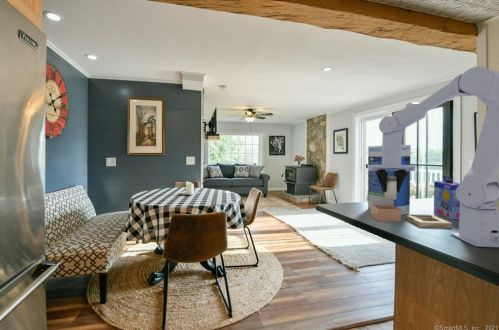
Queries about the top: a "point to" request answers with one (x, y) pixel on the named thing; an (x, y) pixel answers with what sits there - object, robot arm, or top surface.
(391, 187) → the cell
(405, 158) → the string lights box
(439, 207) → the ink cartridge box
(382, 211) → the brown open square box
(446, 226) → the tan square frame
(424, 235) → the top surface
